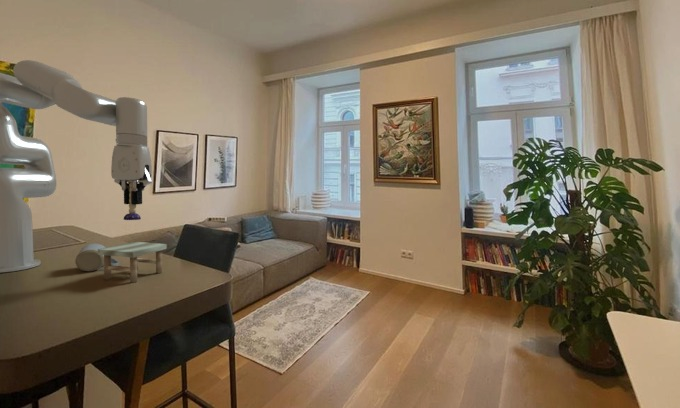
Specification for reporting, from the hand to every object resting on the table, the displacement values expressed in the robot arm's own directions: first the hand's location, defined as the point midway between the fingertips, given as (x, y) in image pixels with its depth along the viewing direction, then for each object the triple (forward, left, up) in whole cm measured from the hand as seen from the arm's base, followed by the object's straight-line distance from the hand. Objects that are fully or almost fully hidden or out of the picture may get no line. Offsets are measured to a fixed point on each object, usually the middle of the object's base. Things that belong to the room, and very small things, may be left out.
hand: (133, 203), depth 88 cm
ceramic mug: (-18, +3, -22) cm, 29 cm away
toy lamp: (0, 0, -5) cm, 5 cm away
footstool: (0, 0, -22) cm, 22 cm away
